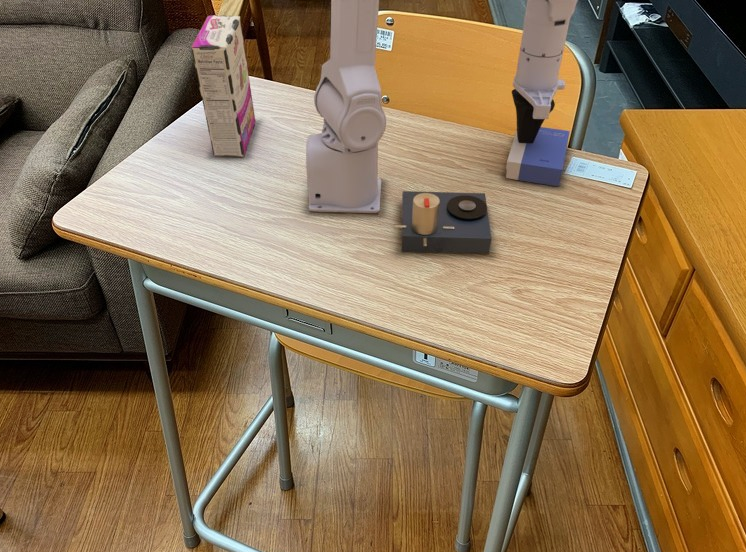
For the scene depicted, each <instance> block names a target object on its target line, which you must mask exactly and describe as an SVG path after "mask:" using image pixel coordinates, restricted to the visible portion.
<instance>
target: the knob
mask: <svg viewBox="0 0 746 552" xmlns="http://www.w3.org/2000/svg"><path fill="white" fill-rule="evenodd" d="M439 205H440V200H439V198H438V197H437V196H436V195H434V194H430V193H421V194H418V195H416V196H415V197H414V199H413V213H412V229H413V231H414V232H416V233H418V234H421V235H430V234H433V233H435V232H436V231H437V228H438V216H439Z"/></svg>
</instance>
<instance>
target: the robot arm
mask: <svg viewBox="0 0 746 552" xmlns="http://www.w3.org/2000/svg"><path fill="white" fill-rule="evenodd" d="M578 1H579V0H527V1H526V6H525V14H524V21H523V27H522V32H521V40H520V46H519V53H518V59H517V64H516V72H515V76H514V77H513V81H512V86H513V88H514V89H512V90H511V95H512V100H513V104H514V108H515V113H516V115H515V116H516V129H517V138H518V142H519V143H533V142H534V140H535V138H536V136H537V134H538V132H539V129H540V127H542V125H543V123H544V121H546V120H549V117H550V113H551V112H552V111H553V110H554V109H555V106H556V102H555V101H554V97H555V95H556V93H557V91H559V90H561V91H562V90H565V89H566V81H565V79H563V78H559V75H560V69H561V66H562V61H563V60H562V59H563V56H564V51H565V45H566V41H567V36H568V30H569V27H570V26H569V25H570V21H571V18H572V16H573V14H575V10H576V7H577V6H576V5H577V3H578ZM379 9H380V0H331V1H330V44H329V45H330V47H329V48H330V51H329V52H330V53H329V59H328V60H327V61H325V62H324V63H323V64H322V65H321V73H320V79H319V83H317V84H318V85H317V87H316V89H315V91H314V96H313V104H314V107H315V110H316V111H317V113H318V114H319V116H320V117H321V118H323V125H322V129H321V130H322V131H321V133H316V134H308V136H307V139H306V145H305V146H306V147H305V167H306V168H305V169H306V184H307V194H308V210H309V211H310V212H319V213H320V212H323V213H324V212H325V213H357V214H362V213H363V214H378V213H380V209H381V195H382V194H381V192H382V179H381V178H379V177H378V176H379V173H378V172H379V166H378V165H379V141H380V140H381V139H382V138H383V136H384V134H385V132H386V129H387V116H386V113H385V111H384V108H383V106H382V88H381V84H380V81H379V77H378V74H377V71H376V53H377V39H378V24H379V23H378V22H379V11H380V10H379Z"/></svg>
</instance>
